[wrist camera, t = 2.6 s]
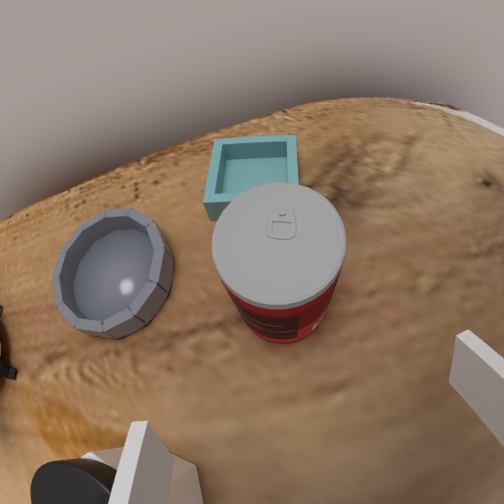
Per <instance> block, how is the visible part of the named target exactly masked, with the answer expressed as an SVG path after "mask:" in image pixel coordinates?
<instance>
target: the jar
mask: <svg viewBox="0 0 504 504" xmlns="http://www.w3.org/2000/svg"><path fill="white" fill-rule="evenodd" d="M123 449H124V447H120V448H114V449H107V450H100V451H92V452H88V453H87V454H85V455H84V456H82V457H80V458H78V459H69V460H59V461H52V462H48V463H46V464H44V465H42V466H41V467H40V468H39V469H38V470H37V471H36V473H35V475H34V477H33V479H32V483H31V491H30V492H31V503H32V504H94V502H95V501H96V500H97V499H98V497H99V496H100V495H101V494H107V495H111V491H112V487H113V484H114V480H115V476H116V473H117V469H118V466H119V462H120V459H121V456H122V452H123ZM170 454H171V455H172V456H173V458H174V463H173V470H172V478H171V486H170V494H169V502H168V504H204V502H203V498H202V493H201V488H200V482H199V477H198V472H197V467H196V465H195V464H193V463H190V462H188V461H186V460H184V459H182V458H180V457H178V456H176V455H174V454H172V453H170Z"/></svg>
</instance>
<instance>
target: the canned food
mask: <svg viewBox="0 0 504 504" xmlns="http://www.w3.org/2000/svg"><path fill="white" fill-rule="evenodd" d="M345 248H346V237H345V229H344V226H343V223H342V220H341V218H340V216H339V214H338V213H337V211H336V209H335V208H334V207H333V205H332V204H331V203H330V202H329V201H328V200H327V199H326V198H324V197H323V196H322V195H321V194H319V193H318V192H316V191H314V190H312V189H310V188H308V187H305V186H302V185H299V184H294V183H287V182H276V183H268V184H263V185H259V186H257V187H254V188H251V189H249V190H247V191H246V192H244V193H242V194H240V195H239V196H238V197H236V198H235V199H234V200H233V201H232V202H230V204H229V205H228V206H227V207H226V208H225V209H224V211H223V212H222V214H221V215H220V217H219V219H218V221H217V223H216V226H215V229H214V232H213V237H212V255H213V259H214V263H215V266H216V270H217V273H218V275H219V276H220V278H221V281H222V283H223V284H224V286H225V288H226V290H227V291H228V293H229V295H230V297H231V298H232V300H233V302H234V304H235V305H236V307H237V309H238V311H239V312H240V314H241V316H242V318H243V319H244V321H245V323H246V324H247V326H248V327H249V328H250V329H251V330H252V331H253V332H254V333H255V334H257V335H258V336H259V337H261V338H263V339H266V340H268V341H271V342H276V343H289V342H294V341H297V340H300V339H302V338H304V337H306V336H307V335H309V334H310V333H312V332H313V331H314V330H315V329H316V328H317V327H318V326H319V324H320V323H321V321H322V320H323V318H324V316H325V313H326V310H327V308H328V305H329V302H330V300H331V297H332V294H333V292H334V289H335V286H336V283H337V280H338V277H339V275H340V272H341V269H342V264H343V261H344V258H345Z"/></svg>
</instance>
